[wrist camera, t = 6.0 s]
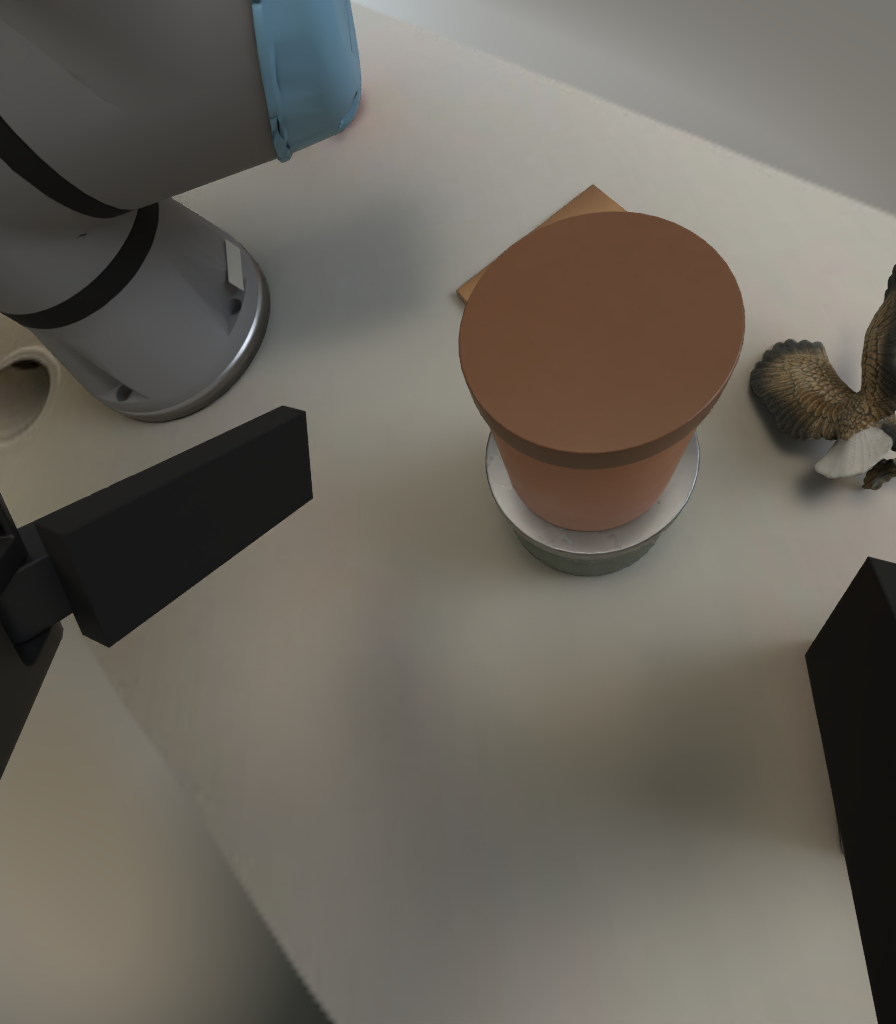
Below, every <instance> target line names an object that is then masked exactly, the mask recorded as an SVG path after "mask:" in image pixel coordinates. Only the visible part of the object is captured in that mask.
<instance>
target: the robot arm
mask: <svg viewBox="0 0 896 1024" xmlns="http://www.w3.org/2000/svg"><path fill="white" fill-rule="evenodd" d="M360 97H361V69H360V60H359V52H358V46H357V39H356V33H355V27H354V21H353V16H352V10H351V4H350V0H0V312H1V313H2V314H4V315H6V316H7V317H9V318H11V319H12V320H14V321H16V322H18V323H19V324H21V325H22V326H24V327H25V328H27V329H29V330H30V331H31V332H32V333H33V334H34V335H35V336H36V337H37V338H38V339H39V340H40V341H41V342H42V343H43V345H44V346H45V347H46V348H47V349H48V350H49V351H50V352H51V353H52V354H53V355H54V356H55V357H56V358H57V359H58V360H59V362H60V363H61V364H62V365H63V366H64V367H65V368H66V369H67V370H68V371H69V372H70V373H71V374H72V375H73V376H74V377H75V378H76V380H77V381H78V382H79V383H80V384H81V385H82V386H83V387H84V388H85V389H86V390H87V391H88V392H89V393H90V394H92V395H93V396H94V397H95V398H97V399H98V400H99V401H101V402H102V403H103V404H105V405H107V406H108V407H110V408H112V409H114V410H116V411H118V412H120V413H121V414H123V415H125V416H128V417H130V418H133V419H136V420H140V421H148V422H159V421H167V420H173V419H177V418H180V417H183V416H186V415H189V414H191V413H193V412H195V411H197V410H199V409H201V408H203V407H205V406H206V405H208V404H210V403H211V402H213V401H214V400H215V399H217V398H218V397H220V396H221V395H222V394H223V393H224V392H226V391H227V390H228V389H229V388H230V387H231V386H232V385H233V384H234V383H235V382H236V381H237V380H238V378H239V377H240V376H241V375H242V374H243V373H244V371H245V370H246V369H247V367H248V366H249V364H250V363H251V361H252V360H253V358H254V356H255V354H256V353H257V351H258V349H259V347H260V344H261V342H262V340H263V337H264V334H265V331H266V328H267V323H268V319H269V311H270V296H269V289H268V285H267V281H266V278H265V276H264V274H263V272H262V270H261V268H260V267H259V265H258V264H257V263H256V262H255V260H254V259H253V258H252V257H251V255H250V254H249V253H248V252H247V251H246V249H245V248H244V247H243V246H242V245H241V244H240V243H238V242H237V241H236V240H235V239H234V238H233V237H232V236H230V235H229V234H228V233H226V232H225V231H223V230H222V229H220V228H219V227H217V226H215V225H214V224H212V223H211V222H209V221H207V220H206V219H204V218H203V217H201V216H199V215H198V214H196V213H195V212H193V211H191V210H190V209H188V208H187V207H185V206H184V205H182V204H180V203H179V202H177V201H176V200H174V199H172V198H171V197H173V196H175V195H178V194H181V193H183V192H186V191H189V190H192V189H194V188H197V187H200V186H203V185H205V184H208V183H211V182H214V181H216V180H219V179H222V178H225V177H227V176H230V175H233V174H236V173H238V172H241V171H244V170H247V169H249V168H252V167H255V166H257V165H260V164H263V163H266V162H268V161H271V160H274V159H277V158H278V160H279V161H280V162H282V163H283V162H286V161H288V160H290V158H291V156H292V153H294V152H296V151H298V150H301V149H303V148H305V147H308V146H310V145H312V144H315V143H317V142H319V141H322V140H324V139H326V138H329V137H331V136H333V135H336V134H338V133H340V132H341V131H343V130H344V129H345V128H346V127H347V126H348V125H349V124H350V123H351V121H352V120H353V118H354V117H355V115H356V112H357V110H358V106H359V103H360ZM311 499H313V494H312V482H311V470H310V458H309V446H308V434H307V422H306V411H302V410H298V409H294V408H290V407H287V406H281V407H278V408H276V409H274V410H272V411H270V412H268V413H266V414H263V415H261V416H259V417H257V418H255V419H253V420H251V421H248V422H246V423H244V424H242V425H240V426H238V427H236V428H234V429H231V430H229V431H227V432H225V433H223V434H221V435H219V436H216V437H214V438H212V439H210V440H208V441H206V442H204V443H201V444H199V445H197V446H195V447H193V448H191V449H189V450H187V451H184V452H182V453H180V454H178V455H176V456H174V457H172V458H169V459H167V460H165V461H163V462H161V463H159V464H157V465H154V466H152V467H150V468H148V469H146V470H144V471H142V472H140V473H137V474H135V475H133V476H130V477H128V478H125V479H123V480H121V481H119V482H117V483H115V484H113V485H110V486H109V487H107V488H104V489H102V490H100V491H98V492H95V493H93V494H91V495H90V496H88V497H85V498H83V499H81V500H78V501H76V502H74V503H72V504H70V505H68V506H66V507H63V508H61V509H59V510H57V511H55V512H53V513H51V514H48V515H46V516H44V517H42V518H40V519H38V520H36V521H33V522H31V523H29V524H27V525H25V526H23V527H20V528H18V529H17V528H16V526H15V523H14V521H13V519H12V517H11V515H10V513H9V511H8V508H7V506H6V504H5V502H4V500H3V498H2V495H1V493H0V779H1V777H2V774H3V772H4V770H5V767H6V765H7V763H8V761H9V758H10V756H11V754H12V752H13V749H14V747H15V745H16V743H17V740H18V738H19V735H20V733H21V731H22V729H23V726H24V724H25V722H26V719H27V717H28V715H29V713H30V710H31V708H32V706H33V703H34V701H35V699H36V696H37V694H38V692H39V690H40V687H41V685H42V683H43V680H44V678H45V676H46V674H47V671H48V669H49V667H50V664H51V662H52V660H53V658H54V655H55V653H56V651H57V648H58V646H59V643H60V641H61V639H62V636H63V627H62V625H61V623H60V620H62V619H64V618H65V617H67V616H68V615H70V614H71V613H73V614H74V616H75V619H76V621H77V623H78V625H79V628H80V630H81V632H82V634H83V635H85V636H87V637H89V638H91V639H93V640H95V641H97V642H99V643H101V644H103V645H105V646H107V647H111V646H112V645H114V644H115V643H116V642H118V641H119V640H120V639H122V638H123V637H124V636H126V635H127V634H129V633H130V632H131V631H133V630H134V629H135V628H137V627H138V626H139V625H141V624H142V623H144V622H145V621H146V620H148V619H149V618H150V617H152V616H153V615H154V614H156V613H157V612H159V611H160V610H161V609H163V608H164V607H165V606H167V605H168V604H169V603H171V602H172V601H174V600H175V599H176V598H178V597H179V596H180V595H182V594H183V593H184V592H186V591H187V590H189V589H190V588H191V587H193V586H194V585H195V584H197V583H198V582H199V581H201V580H202V579H204V578H205V577H206V576H208V575H209V574H210V573H212V572H213V571H214V570H216V569H217V568H218V567H220V566H221V565H223V564H224V563H225V562H227V561H228V560H229V559H231V558H232V557H233V556H235V555H236V554H238V553H239V552H240V551H242V550H243V549H244V548H246V547H247V546H248V545H250V544H251V543H253V542H254V541H255V540H257V539H258V538H259V537H261V536H262V535H263V534H265V533H266V532H268V531H269V530H270V529H272V528H273V527H274V526H276V525H277V524H278V523H280V522H281V521H283V520H284V519H285V518H287V517H288V516H289V515H291V514H292V513H293V512H295V511H296V510H298V509H299V508H300V507H302V506H303V505H304V504H306V503H307V502H308V501H310V500H311ZM805 659H806V664H807V669H808V674H809V679H810V684H811V689H812V694H813V699H814V704H815V709H816V714H817V719H818V724H819V729H820V734H821V739H822V744H823V749H824V754H825V759H826V764H827V769H828V774H829V779H830V784H831V789H832V794H833V799H834V804H835V809H836V815H837V820H838V825H839V830H840V835H841V840H842V845H843V850H844V855H845V860H846V865H847V870H848V875H849V880H850V885H851V890H852V895H853V900H854V905H855V910H856V915H857V920H858V925H859V930H860V935H861V940H862V945H863V950H864V955H865V960H866V965H867V970H868V976H869V981H870V986H871V991H872V996H873V1001H874V1006H875V1011H876V1016H877V1021H878V1024H896V564H895V563H891V562H887V561H884V560H880V559H876V558H872V557H867V559H866V561H865V562H864V564H863V565H862V567H861V568H860V570H859V571H858V573H857V575H856V576H855V578H854V579H853V581H852V582H851V584H850V586H849V587H848V589H847V590H846V592H845V593H844V595H843V596H842V598H841V600H840V601H839V603H838V604H837V606H836V607H835V609H834V610H833V612H832V614H831V615H830V617H829V618H828V620H827V621H826V623H825V625H824V626H823V628H822V629H821V631H820V632H819V634H818V635H817V637H816V639H815V640H814V642H813V643H812V645H811V646H810V648H809V649H808V651H807V653H806V654H805Z"/></svg>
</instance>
